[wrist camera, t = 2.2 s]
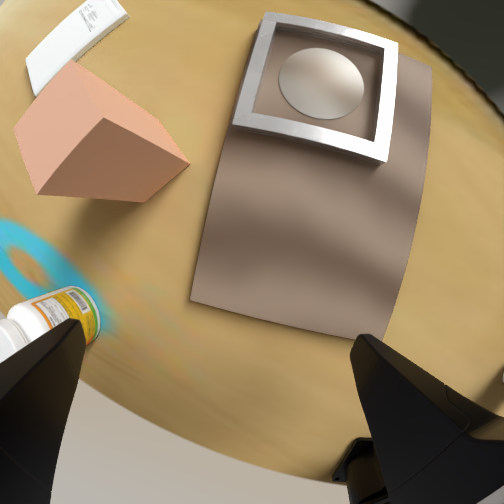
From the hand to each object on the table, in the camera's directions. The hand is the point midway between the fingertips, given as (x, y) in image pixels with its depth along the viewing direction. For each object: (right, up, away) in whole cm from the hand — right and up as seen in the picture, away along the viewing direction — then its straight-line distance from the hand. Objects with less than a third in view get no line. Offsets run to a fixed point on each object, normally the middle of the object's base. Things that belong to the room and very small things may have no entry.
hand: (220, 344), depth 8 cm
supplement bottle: (-14, -3, +14) cm, 20 cm away
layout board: (+6, +9, +10) cm, 15 cm away
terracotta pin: (-7, +10, +12) cm, 16 cm away
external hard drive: (-18, +26, +12) cm, 33 cm away
